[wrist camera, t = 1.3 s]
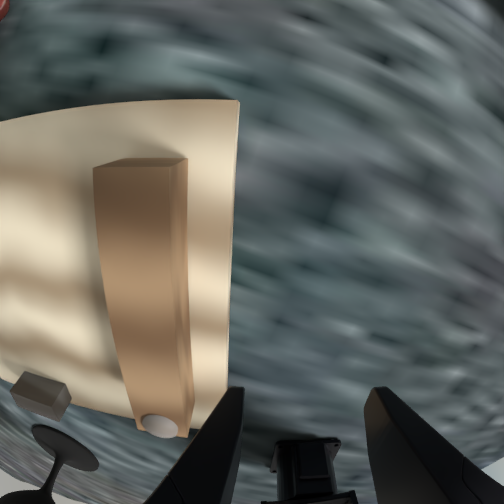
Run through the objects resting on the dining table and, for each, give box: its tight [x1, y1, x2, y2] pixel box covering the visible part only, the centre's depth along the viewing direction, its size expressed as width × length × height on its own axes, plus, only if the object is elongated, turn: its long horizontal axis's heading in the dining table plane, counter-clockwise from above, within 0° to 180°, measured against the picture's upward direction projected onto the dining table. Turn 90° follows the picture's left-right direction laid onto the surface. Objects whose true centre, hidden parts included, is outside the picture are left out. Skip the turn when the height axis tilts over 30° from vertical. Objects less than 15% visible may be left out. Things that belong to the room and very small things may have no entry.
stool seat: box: [0, 99, 240, 429], centre depth 18 cm, size 24×24×5 cm
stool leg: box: [92, 158, 195, 438], centre depth 17 cm, size 17×4×4 cm, turn 176°
